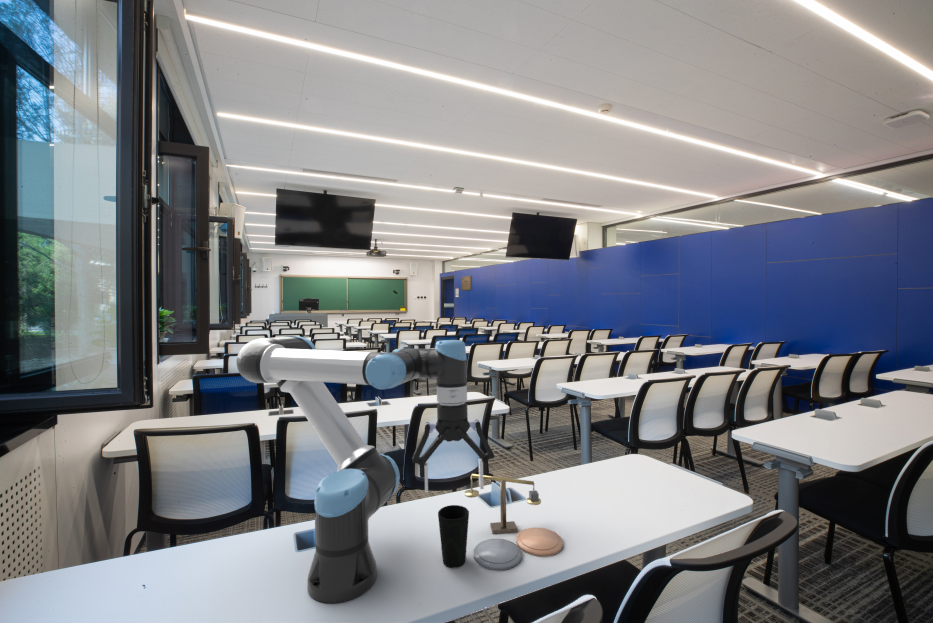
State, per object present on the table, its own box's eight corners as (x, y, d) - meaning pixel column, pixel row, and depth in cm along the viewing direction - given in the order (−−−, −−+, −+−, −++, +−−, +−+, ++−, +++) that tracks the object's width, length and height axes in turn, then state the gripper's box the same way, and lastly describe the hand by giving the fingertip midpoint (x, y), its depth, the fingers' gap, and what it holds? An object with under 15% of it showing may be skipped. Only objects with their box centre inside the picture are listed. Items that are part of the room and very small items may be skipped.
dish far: (522, 558, 100) (522, 553, 100) (512, 532, 112) (512, 528, 112) (569, 554, 101) (569, 549, 101) (553, 529, 113) (553, 525, 113)
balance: (466, 535, 110) (465, 477, 111) (464, 528, 114) (463, 471, 115) (543, 530, 113) (542, 472, 113) (539, 522, 117) (538, 467, 117)
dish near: (476, 572, 95) (476, 566, 95) (471, 543, 107) (470, 539, 107) (526, 567, 96) (526, 562, 96) (515, 540, 108) (515, 535, 108)
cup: (466, 572, 95) (465, 521, 95) (435, 569, 96) (434, 518, 96) (472, 553, 102) (471, 506, 102) (443, 550, 104) (442, 503, 104)
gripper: (400, 408, 95) (402, 498, 94) (504, 403, 97) (506, 491, 97) (402, 401, 102) (403, 485, 102) (498, 397, 105) (500, 479, 104)
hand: (454, 488), depth 99 cm, fingers open, 13 cm apart
